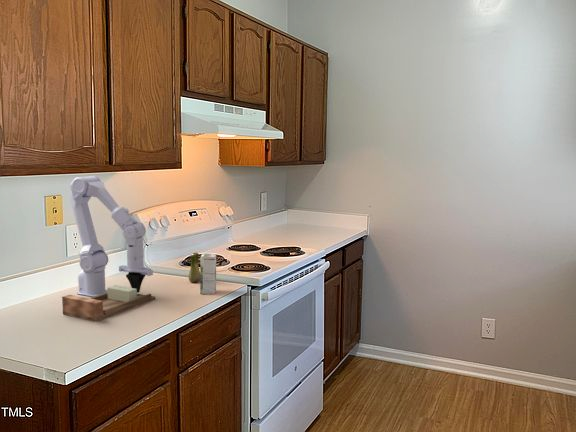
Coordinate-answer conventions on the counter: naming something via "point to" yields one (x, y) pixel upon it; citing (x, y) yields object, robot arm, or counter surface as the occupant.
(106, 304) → the track
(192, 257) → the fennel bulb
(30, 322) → the counter surface
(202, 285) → the syrup box
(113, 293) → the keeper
